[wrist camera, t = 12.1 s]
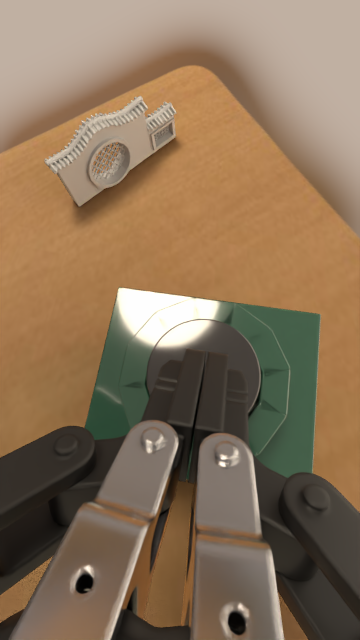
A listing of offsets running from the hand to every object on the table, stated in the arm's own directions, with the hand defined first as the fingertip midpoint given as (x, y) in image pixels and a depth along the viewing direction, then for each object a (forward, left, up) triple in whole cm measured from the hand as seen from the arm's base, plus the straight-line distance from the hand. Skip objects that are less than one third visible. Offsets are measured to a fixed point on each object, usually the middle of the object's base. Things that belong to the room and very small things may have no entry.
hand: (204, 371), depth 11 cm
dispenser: (0, 0, -12) cm, 12 cm away
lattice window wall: (-10, +19, -12) cm, 25 cm away
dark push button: (0, 0, -3) cm, 3 cm away
